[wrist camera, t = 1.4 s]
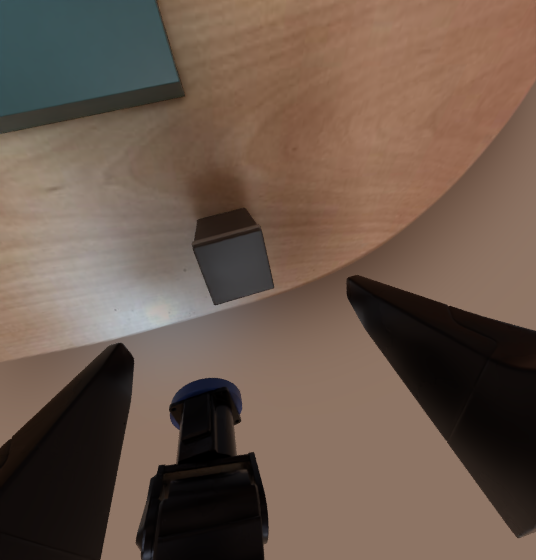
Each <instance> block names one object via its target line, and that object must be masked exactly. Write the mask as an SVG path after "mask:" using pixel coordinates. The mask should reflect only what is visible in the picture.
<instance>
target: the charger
mask: <svg viewBox="0 0 536 560" xmlns="http://www.w3.org/2000/svg"><path fill="white" fill-rule="evenodd" d="M192 247H193V251H194V254H195V256H196V259H197V261H198V264H199V267H200V269H201V272H202V275H203V277H204V280H205V282H206V285H207V288H208V290H209V293H210V296H211V298H212V301H213V303H214V305H218V304H222V303H225V302H228V301H232V300H235V299H239V298H242V297H245V296H249V295H252V294H256V293H259V292H262V291H266V290H269V289H273V288H274V284H273V279H272V275H271V270H270V266H269V261H268V256H267V252H266V247H265V243H264V238H263V234H262V230H261V227H260V225H259V224H257V223H256V222H255V221H254V219H253V218H252V217H251V215H250V214H249V213H248V211H247V210H246V209H245V208H241V209H238V210H234V211H230V212H226V213H222V214H218V215H214V216H210V217H206V218H202V219H199V220H197V226H196V232H195V238H194V241H193V242H192Z"/></svg>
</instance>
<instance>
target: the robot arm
mask: <svg viewBox="0 0 536 560" xmlns="http://www.w3.org/2000/svg"><path fill="white" fill-rule="evenodd" d="M347 297H348V300H349V302H350V303H351V305H352V307H353V309H354V310H355V312H356V314H357V316H358V318H359V319H360V321H361V323H362V324H363V326H364V328H365V330H366V331H367V332H368V334H369V335H370V337H371V338H372V339H373V340H374V342H375V344H376V345H377V346H378V348H379V349H380V350H381V352H382V353H383V354H384V356H385V357H386V358H387V360H388V361H389V363H390V364H391V366H392V367H393V368H394V370H395V371H396V372H397V374H398V375H399V377H400V378H401V379H402V380H403V382H404V383H405V385H406V386H407V388H408V389H409V390H410V392H411V393H412V394H413V396H414V397H415V398H416V400H417V401H418V403H419V404H420V405H421V407H422V408H423V409H424V411H425V412H426V414H427V415H428V416H429V418H430V419H431V421H432V422H433V423H434V425H435V426H436V427H437V429H438V430H439V432H440V433H441V434H442V436H443V437H444V438H445V440H446V441H447V443H448V444H449V446H450V447H451V448H452V450H453V451H454V452H455V454H456V455H457V457H458V458H459V459H460V461H461V462H462V463H463V465H464V466H465V468H466V469H467V470H468V472H469V473H470V474H471V476H472V477H473V479H474V480H475V481H476V483H477V484H478V485H479V487H480V488H481V490H482V491H483V492H484V494H485V495H486V496H487V498H488V499H489V501H490V502H491V503H492V505H493V506H494V507H495V509H496V510H497V511H498V513H499V514H500V516H501V517H502V518H503V520H504V521H505V523H506V524H507V525H508V527H509V528H510V529H511V531H512V532H513V533H514V534H515V536H516V537H517V538H521V537H523V536H526V535H529V534H531V533H534V532H536V331H534V330H530V329H527V328H523V327H519V326H515V325H512V324H508V323H505V322H501V321H498V320H494V319H490V318H487V317H483V316H480V315H477V314H473V313H471V312H467V311H464V310H461V309H458V308H455V307H452V306H448V305H446V304H443V303H440V302H437V301H434V300H431V299H428V298H425V297H422V296H419V295H416V294H413V293H410V292H407V291H404V290H401V289H398V288H395V287H392V286H389V285H386V284H383V283H380V282H377V281H374V280H371V279H368V278H365V277H362V276H359V275H354V276H351V277H348V278H347ZM133 371H134V358H133V356H132V354H131V353H130V352H129V351H128V349H127V348H126V347H125V345H124V344H122V343H116V344H113V345H110V346H108V347H107V348H106V349H105V350H104V351H103V352H102V353H101V354H100V355H98V356H97V357H96V358H95V359H94V360H93V361H92V362H91V363H90V364H89V365H88V366H87V367H86V368H85V369H84V370H83V371H82V372H80V373H79V374H78V375H77V376H76V377H75V378H74V379H73V380H72V381H71V382H70V383H69V384H68V385H67V386H66V387H64V388H63V389H62V390H61V391H60V392H59V393H58V394H57V395H56V396H55V397H54V398H53V399H52V400H51V401H50V402H49V403H48V404H46V405H45V406H44V407H43V408H42V409H41V410H40V411H39V412H38V413H37V414H36V415H35V416H34V417H33V418H32V419H30V420H29V421H28V422H27V423H26V424H25V425H24V426H23V427H22V428H21V429H20V430H19V431H18V432H17V433H16V434H15V435H13V436H12V439H10V440H8V441H7V442H6V443H5V444H4V445H3V446H2V447H1V448H0V560H100V559H101V553H102V548H103V543H104V538H105V533H106V528H107V522H108V517H109V512H110V507H111V502H112V497H113V491H114V486H115V481H116V476H117V471H118V465H119V460H120V455H121V450H122V444H123V440H124V434H125V429H126V424H127V419H128V413H129V409H130V403H131V395H132V384H133V383H132V382H133ZM169 411H170V413H171V414H172V416H173V417H174V419H175V420H176V422H177V423H178V424H179V426H180V432H179V441H178V451H177V460H176V464H174V465H166V466H165V465H159V467H158V471H157V474H156V475H155V476H154V477H152V478H151V480H150V485H149V491H148V497H147V501H146V505H145V509H144V512H143V515H142V519H141V522H140V525H139V529H138V532H137V537H136V545H137V546H138V548H139V549H140V551H141V560H264V549H263V544H266V543H267V540H268V528H269V527H268V511H267V503H266V498H265V492H264V488H263V485H262V481H261V477H260V473H259V470H258V465H257V462H256V458H255V454H254V452H251V453H248V454H244V455H237V453H236V443H235V432H234V425H236V424H238V423H240V422H241V417H240V414H239V412H238V410H237V408H236V405H235V403H234V401H233V398H232V396H231V394H230V392H229V389H228V388H227V387H221V388H217V389H214V390H211V391H208V392H205V393H202V394H199V395H196V396H193V397H190V398H187V399H184V400H181V401H178V402H175V403H172V404H171V405H170V407H169Z"/></svg>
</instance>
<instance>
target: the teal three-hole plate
mask: <svg viewBox="0 0 536 560" xmlns="http://www.w3.org/2000/svg"><path fill="white" fill-rule="evenodd" d="M183 96H185V94H184V91H183V87H182V84H181V81H180V77H179V74H178V71H177V67H176V64H175V61H174V57H173V54H172V50H171V47H170V44H169V40H168V37H167V34H166V30H165V27H164V24H163V20H162V17H161V14H160V10H159V7H158V3H157V0H0V134H2V133H7V132H11V131H16V130H21V129H26V128H31V127H36V126H41V125H46V124H51V123H56V122H61V121H65V120H70V119H75V118H80V117H85V116H90V115H95V114H100V113H105V112H110V111H115V110H119V109H124V108H129V107H134V106H139V105H144V104H149V103H154V102H159V101H164V100H169V99H173V98H178V97H183Z"/></svg>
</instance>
